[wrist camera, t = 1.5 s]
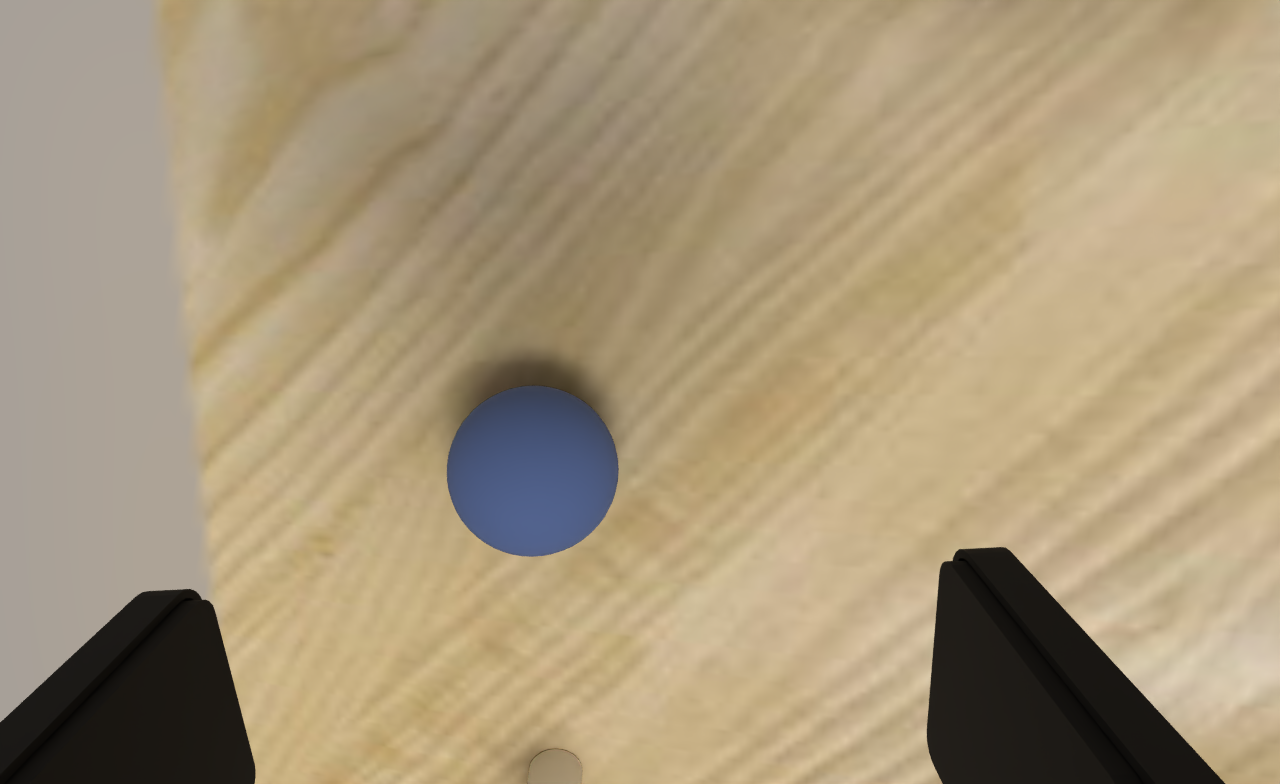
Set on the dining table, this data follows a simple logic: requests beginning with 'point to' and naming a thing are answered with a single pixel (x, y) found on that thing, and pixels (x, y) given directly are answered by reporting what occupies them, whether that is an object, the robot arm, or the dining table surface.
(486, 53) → the dining table surface
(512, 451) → the ball
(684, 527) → the dining table surface
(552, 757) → the pin
